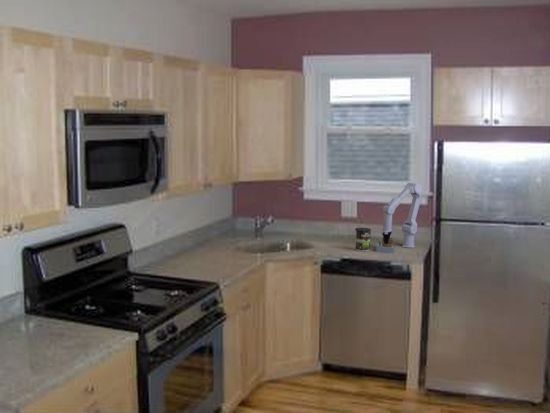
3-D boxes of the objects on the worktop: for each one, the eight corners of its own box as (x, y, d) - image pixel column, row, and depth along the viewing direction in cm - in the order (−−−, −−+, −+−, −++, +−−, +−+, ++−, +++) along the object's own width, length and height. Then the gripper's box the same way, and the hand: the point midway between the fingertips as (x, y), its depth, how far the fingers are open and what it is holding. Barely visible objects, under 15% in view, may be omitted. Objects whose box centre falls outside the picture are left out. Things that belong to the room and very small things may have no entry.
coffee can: (372, 250, 413) (373, 229, 411) (359, 251, 409) (360, 230, 407) (365, 247, 422) (365, 227, 420) (351, 248, 418) (352, 227, 416)
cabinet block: (382, 245, 423) (383, 237, 422) (392, 246, 421) (392, 238, 420) (382, 247, 419) (382, 238, 418) (391, 248, 417) (392, 239, 416)
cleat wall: (378, 246, 428) (378, 240, 427) (395, 247, 424) (395, 241, 424) (375, 251, 410) (375, 245, 410) (393, 252, 407) (393, 247, 407)
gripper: (382, 221, 426) (381, 240, 428) (380, 224, 412) (379, 244, 414) (393, 221, 424) (392, 241, 426) (391, 225, 410) (390, 245, 412)
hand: (386, 243), depth 420 cm, fingers closed on cabinet block, 4 cm apart
